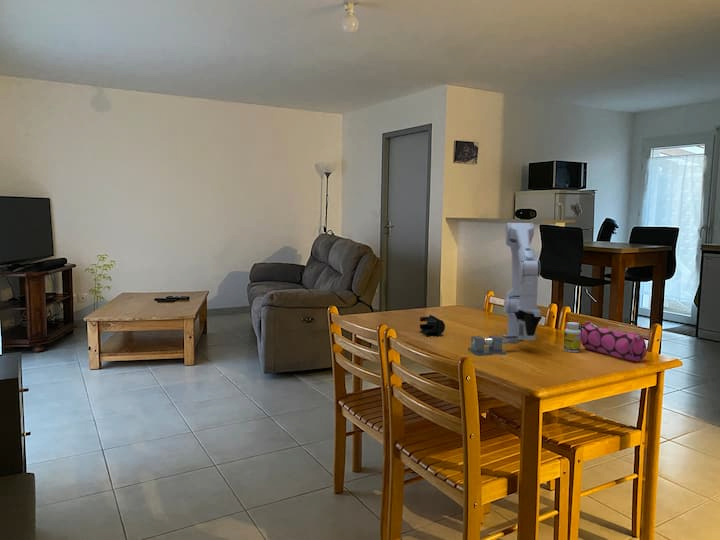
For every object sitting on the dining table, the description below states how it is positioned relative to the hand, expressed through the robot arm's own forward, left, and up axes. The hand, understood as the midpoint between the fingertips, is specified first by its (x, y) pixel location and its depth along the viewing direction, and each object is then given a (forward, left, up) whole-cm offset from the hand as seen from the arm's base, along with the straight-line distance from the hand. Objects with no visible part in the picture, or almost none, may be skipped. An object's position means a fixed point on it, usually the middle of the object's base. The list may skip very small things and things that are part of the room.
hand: (526, 333), depth 189 cm
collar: (0, 0, -2) cm, 2 cm away
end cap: (+24, -30, -6) cm, 39 cm away
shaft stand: (+12, 0, -6) cm, 13 cm away
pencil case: (-26, +10, -6) cm, 29 cm away
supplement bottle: (-16, +3, -6) cm, 17 cm away
